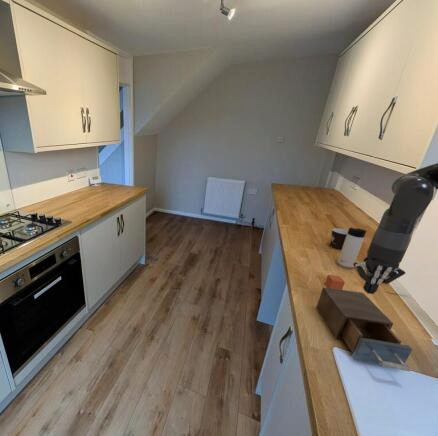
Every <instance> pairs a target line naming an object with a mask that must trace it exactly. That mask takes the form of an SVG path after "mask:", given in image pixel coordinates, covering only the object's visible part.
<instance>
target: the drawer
mask: <svg viewBox="0 0 438 436" xmlns="http://www.w3.org/2000/svg"><path fill="white" fill-rule="evenodd" d="M341 336H342V338H343V339H344V340H343V341H344V342H345V344H346V345H347V347H348V348H349V349H350V352H351V353H352V355H351V357H352V359H353V361H358V362H363V363H368V364H373V365H379V367H383V368H388V369H394V370H398V371H403V372H411V367H410V366H409V365H408V364H406V362H407V361H408V358H409V357H410V355H411V353H412V351H413V348H412V347H411V346H410V345H409V344H402V342H403V341H402V340H401V339H400V338H399V337H398V336H397V335H396V333H394V332H393V330H392V329H391V330H390V328H389V327H388V326H387V325H386V324H379V323H373V322H366V321H360V320H353V319H346V322H345V324H344V327H343V330H342V332H341Z"/></svg>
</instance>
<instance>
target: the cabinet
mask: <svg viewBox="0 0 438 436" xmlns="http://www.w3.org/2000/svg"><path fill="white" fill-rule="evenodd" d="M316 309H317V311H318V312H319V314H320V315H321V317H322V319H323V320H324V322H325V323H326V325H327V327H328V329H329V330H330V331H331V333H332V334H333V336H334V337H335V339H336V340H342V341H344V339H343V338H342V336H341V332H342V330H343V327H344V324H345V322H346V319H353V320H360V321H366V322H373V323H379V324H386V325H387V326H388V327H389V328H390V330H391V331H392V328H393V325H394V322H393V321H392V320H390V318H389V317H388V316H387V315H386V314H385V313H384V312H383V311H382V310H381V309H380V308H379V307H378V305H376V304H375V303H374V302H373V301H372V300H371V299H370V298H369V297H368V296H367V295H366V294H365V292H362V291H355V290H354V291H353V290H346V289H342V290H339V289H331V288H328V287H324V286H323V287H322V289H321V292H320V295H319V298H318V301H317V305H316Z"/></svg>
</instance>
